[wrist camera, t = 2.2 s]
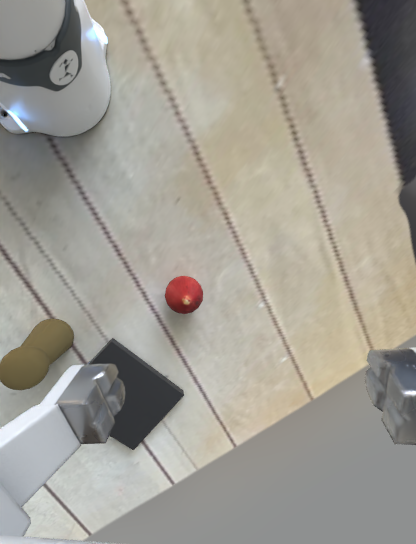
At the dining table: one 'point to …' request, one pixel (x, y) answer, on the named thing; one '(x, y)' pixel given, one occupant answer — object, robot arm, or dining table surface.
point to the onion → (184, 294)
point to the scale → (138, 394)
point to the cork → (35, 354)
